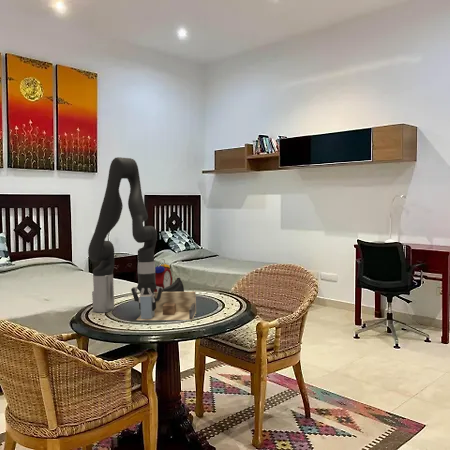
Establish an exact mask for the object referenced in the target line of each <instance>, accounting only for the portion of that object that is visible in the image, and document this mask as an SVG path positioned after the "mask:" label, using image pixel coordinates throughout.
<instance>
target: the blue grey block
mask: <svg viewBox="0 0 450 450" xmlns="http://www.w3.org/2000/svg"><path fill="white" fill-rule="evenodd" d="M151 296H152V295H139V298H140V306H141V310H140V315H141V319H152V317H153V316H154V315H155V310H154V311H152V297H151Z"/></svg>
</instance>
